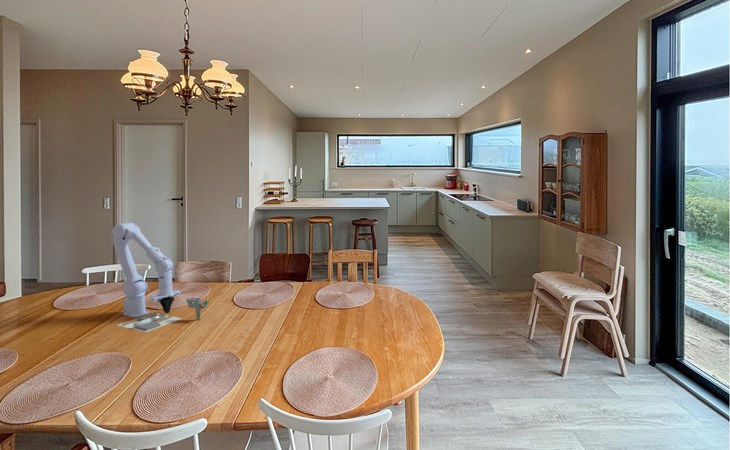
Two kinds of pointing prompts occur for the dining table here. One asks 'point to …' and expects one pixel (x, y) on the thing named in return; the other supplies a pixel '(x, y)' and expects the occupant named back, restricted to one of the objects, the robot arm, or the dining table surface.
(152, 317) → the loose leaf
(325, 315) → the dining table surface
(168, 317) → the hinge jig
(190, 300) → the mechanical component
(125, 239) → the robot arm
